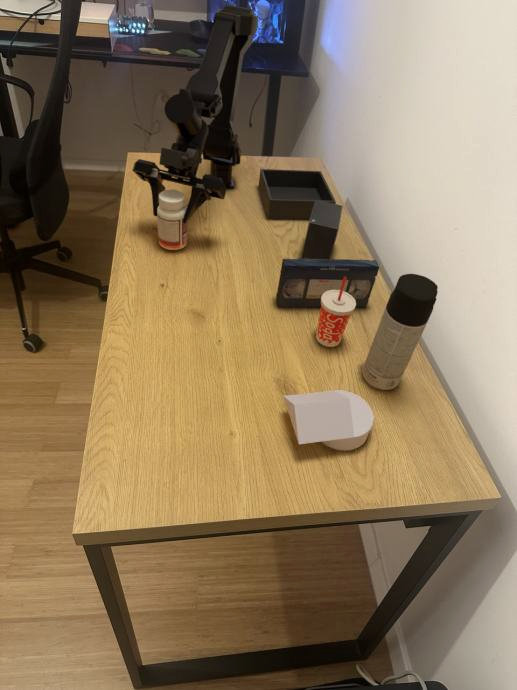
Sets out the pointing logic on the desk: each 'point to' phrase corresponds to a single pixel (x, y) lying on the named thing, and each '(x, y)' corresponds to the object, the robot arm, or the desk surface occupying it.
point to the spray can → (399, 330)
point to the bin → (292, 193)
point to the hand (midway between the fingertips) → (169, 219)
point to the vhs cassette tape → (324, 280)
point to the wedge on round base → (330, 418)
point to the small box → (322, 230)
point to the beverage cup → (334, 315)
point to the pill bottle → (171, 220)
